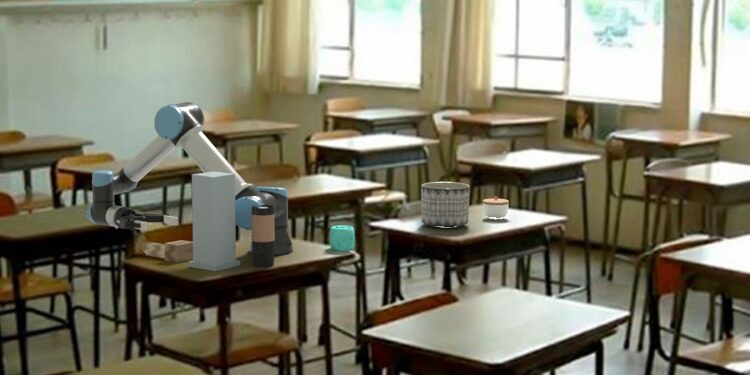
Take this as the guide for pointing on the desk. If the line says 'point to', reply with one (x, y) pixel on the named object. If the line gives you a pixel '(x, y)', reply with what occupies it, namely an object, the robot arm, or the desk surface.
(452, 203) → the planter
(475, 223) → the desk surface
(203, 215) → the pedestal
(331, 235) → the decorative dice
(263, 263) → the travel mug
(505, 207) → the lidded jar
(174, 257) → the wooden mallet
